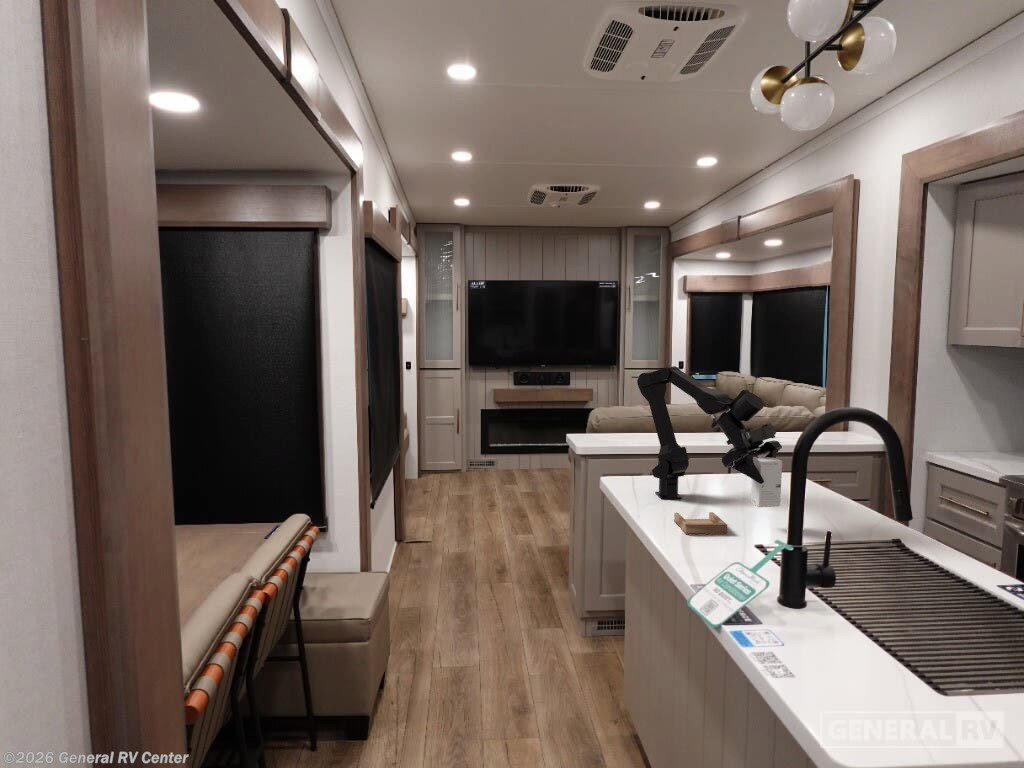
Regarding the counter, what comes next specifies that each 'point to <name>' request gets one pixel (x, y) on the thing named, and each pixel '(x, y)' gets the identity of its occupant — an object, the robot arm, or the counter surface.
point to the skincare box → (767, 483)
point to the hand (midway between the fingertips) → (771, 481)
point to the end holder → (701, 525)
